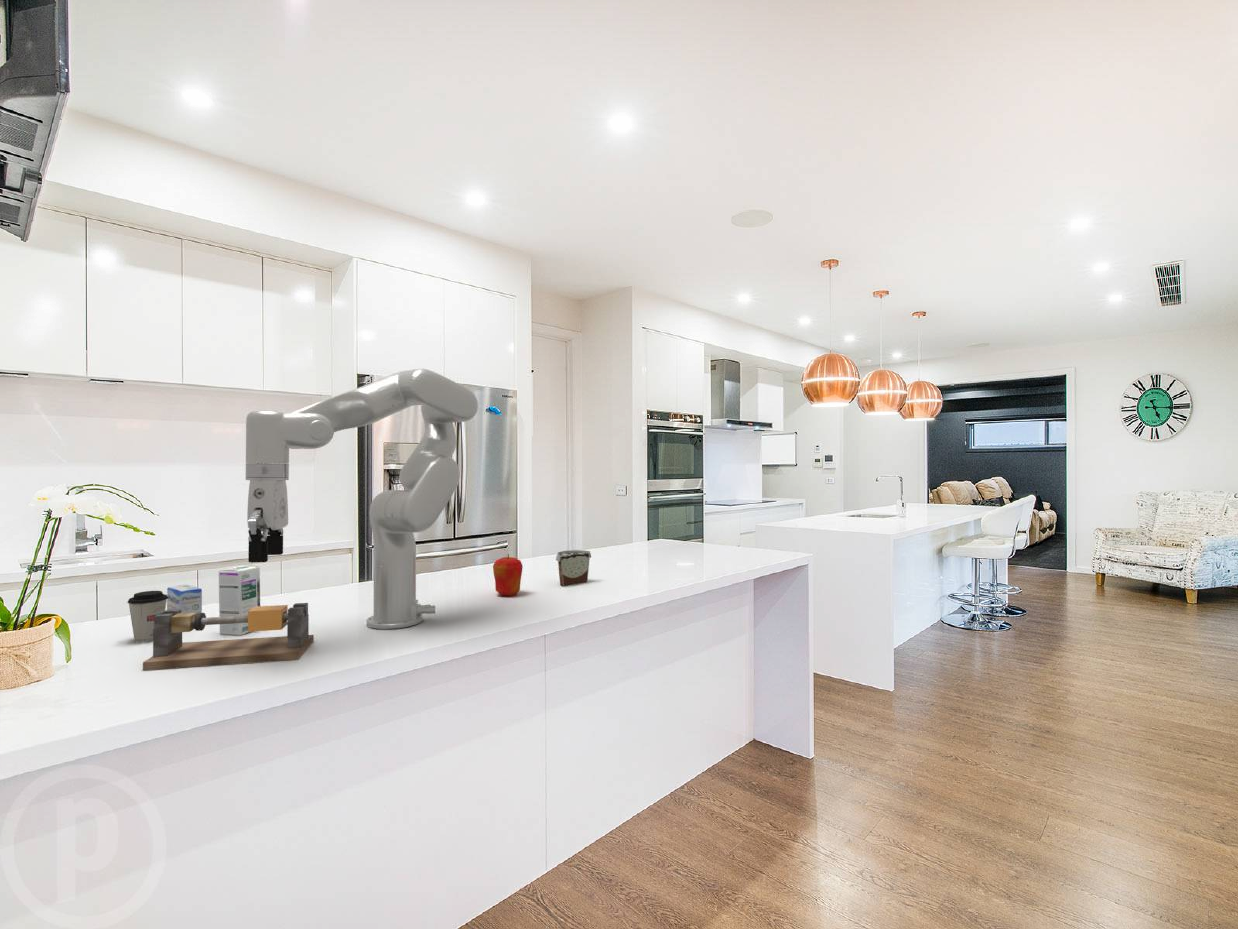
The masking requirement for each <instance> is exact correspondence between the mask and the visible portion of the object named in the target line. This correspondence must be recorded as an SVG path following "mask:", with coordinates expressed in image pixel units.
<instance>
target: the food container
mask: <svg viewBox="0 0 1238 929" xmlns="http://www.w3.org/2000/svg"><path fill="white" fill-rule="evenodd" d="M590 558H592V553H591V551H590V550H583V549H581V550H580V549H574V550H562V551H558V552H557V554H556V558H555V561H557V564H558V575H559V576H558V577H559V585H560V587H563V588H565V587H571V586H576V585H582V584H583V585H584V584H588V583H589V582H588V581H589V570H590V568H589V567H590Z"/></svg>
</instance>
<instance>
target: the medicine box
mask: <svg viewBox="0 0 1238 929" xmlns="http://www.w3.org/2000/svg"><path fill="white" fill-rule="evenodd" d="M166 592H167V594H166V595H167V596H168V599H167V601H166V610H172V609H181V613H203V608H202V607H203V590H202V588H199V587H196V586H193V585H189V584H181V585H174V586H173V585H172V586H168V587H167V591H166Z"/></svg>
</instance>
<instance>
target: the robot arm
mask: <svg viewBox="0 0 1238 929" xmlns="http://www.w3.org/2000/svg"><path fill="white" fill-rule="evenodd" d="M413 406H420V411H421V415H422V418H423V422H424V434H423V435H422V438H421V439H420V441H419V443H418V444H417V446H416V447H415V448H414V450H413V451H412V452H411V454H410V455H409V457H408V459H407V460H406V461H405V462H404V464H403V466H402V467H401V468H400V471H399V476H398V478H399V482H400V484H401V486H402V488H404V489H405V490H403V489H388V490H383V491H381V492H379V493H378V494H377V495H376V496H375V497H374V498H373V499H372V501H371V504H370V506H369V520H370V527H371V531H372V532H371V533H372V540H373V615H371V616H369V617H368V618H367V619H366V626H367V627H369V628H373V629H376V630H377V629H379V630H390V629H391V630H394V629H401V628H402V629H403V628H408V627H412V626H414V625H418V624H420V623H421V622H423V619H424V617H423V616H424V615H423V614H425V615H426V614H427V615H430V614H431V615H432V614H435V615H436V605H435V604H434V605H433V604H432V605H431V604H421V603H419V599H417V545H416V539H415V535H414V533H422V532H425V531H427V530H428V529H430V528H431V527H432V526H433V525H434V524H435V522H436V521H437V520H438V518H439V516H440V515H441V514H442V512H443V511H444V508H445V507H446V506H447V504H448V502H449V501H450V499H451V498H452V496H453V494H454V493H455V492H456V489H457V488H458V487H459V486H458V485H459V482H460V467H459V464H458V463H457V461H456V460H454V458H452V456H453V455H454V453H455V451H456V448H457V435H456V430H455V425H454V423H463V422H468V421H470V420H472V419H473V418H474V417H475V416H476V415H477V412H478V410H479V402H478V399H477V397H476V395H475V394H474V393H473V391H471V390H470V389H469V388H467V387H466V386H465V385H462V384H461V383H459V382H456V381H454V380H451V379H450V378H448V377H445V376H444V375H442V374H439V373H437V372H435V371H432V370H430V369H426V368H417V369H416V368H415V369H409V370H402V371H398V372H395V373H392V374H389V375H387V376H384V377H382V378H380V379H378V380H375V381H372V382H370V383H368V384H365V385H363V386H359V387H358V388H355V389H351V390H348V391H346V392H343V393H340V394H338V395H336V396H334V397H330V398H328V399H324V400H322V401H318V402H316V403H314V404H310V405H308V406H305V407H303V408H300V409H297V410H294V411H293V412H290V413H286V412H285V413H284V412H283V411H277V410H274V411H273V410H254V411H250V412H249V413H247V416H246V417H245V418H246V420H245V423H246V424H245V481H249V484H248V496H247V516H246V518H247V520H246V521H247V529H248V530H247V533H248V537H247V538H248V539H247V540H248V555H247V556H248V563H251V564H253V563H266V562H268V560H269V556H282V555H283V554H284V528H285V527H287V526H288V524H289V503H288V502H289V501H288V489H287V488H288V487H287V482H286V481H289V479H290V478H289V477H290V450H291V449H292V450H300V449H302V450H314V449H315V450H316V449H320V448H323V447H325V446H327V445H328V444H330V442H331V441H332V439H333V437H334V434H335V433H336V432H340V431H344V430H349V429H354V428H361V427H364V426H368V425H371V424H372V425H373V424H374V423H375V424H376V423H377V422H379V421H381V420H383V419H385V418H387V417H390V416H392V415H394V414H395V413H398V412H401V411H403V410H406V409H408V408H411V407H413Z"/></svg>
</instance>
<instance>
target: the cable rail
mask: <svg viewBox="0 0 1238 929" xmlns="http://www.w3.org/2000/svg"><path fill="white" fill-rule="evenodd" d="M309 616H310V615H309V602H299V603H297V602H296V603H294V604H293V605H292V606H291V607H289V608H288V613H287V614H283V621H288V622H287V625H286V628H287V633H286V634H287V635H286V636H272V637H271V636H269V637H268V636H267V637H254V638H252V637H251V638H238V639H220V640H219V639H218V640H205V641H204V640H203V641H200V640H199V641H187V642H183V633H190V632H192V631H194V630H195V631H196V632H200V631H203V630H204V629H205V627H206V626H209V625H210V626H212V625H220V624H234V623H248V616H229V617H219V616H216V617H215V616H214V617H212V616H211V617H207V616H206V613H205V612H202V613H181V609H172V610H167V609H165V611H164V612H163V614H158V615H156V616H154V629H153V641H152V656H151V657H149V658H148V659H146V660H144V661H143V662H142V671H154V670H155V671H156V670H168V669H172V670H173V669H184V668H185V669H186V668H197V667H200V668H202V667H210V666H211V667H212V666H213V667H215V666H225V665H226V666H227V665H242V664H244V665H245V664H257V663H273V662H285V661H298V660H300V658H301V657H302V656H303V655H304V654H305V653H306V651H308V649H309V648H310V647H311V645H312V644H313V643H314V642H315V634H310V631H309V628H310V626H309V625H310V624H309V623H310V622H309Z"/></svg>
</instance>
